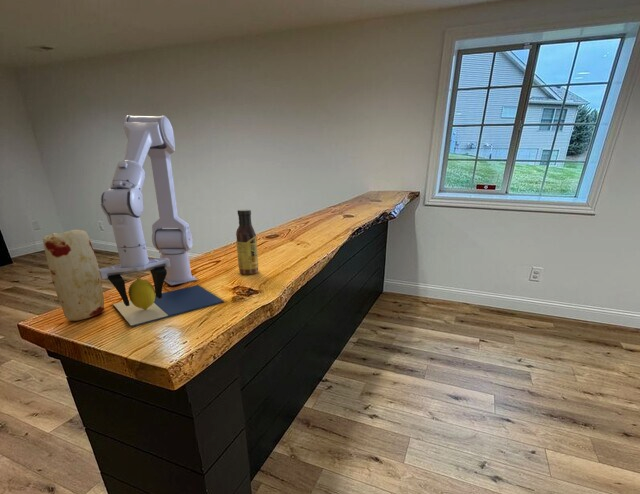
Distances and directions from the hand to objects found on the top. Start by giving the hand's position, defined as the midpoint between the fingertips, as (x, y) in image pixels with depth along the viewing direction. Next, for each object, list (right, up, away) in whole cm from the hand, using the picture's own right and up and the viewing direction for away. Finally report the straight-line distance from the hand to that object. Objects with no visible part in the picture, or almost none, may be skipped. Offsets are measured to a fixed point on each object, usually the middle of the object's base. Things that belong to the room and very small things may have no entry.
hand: (143, 300), depth 83 cm
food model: (-12, -4, -2) cm, 13 cm away
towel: (+4, -1, +5) cm, 7 cm away
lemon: (0, -2, +1) cm, 3 cm away
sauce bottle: (+19, +9, +30) cm, 37 cm away
